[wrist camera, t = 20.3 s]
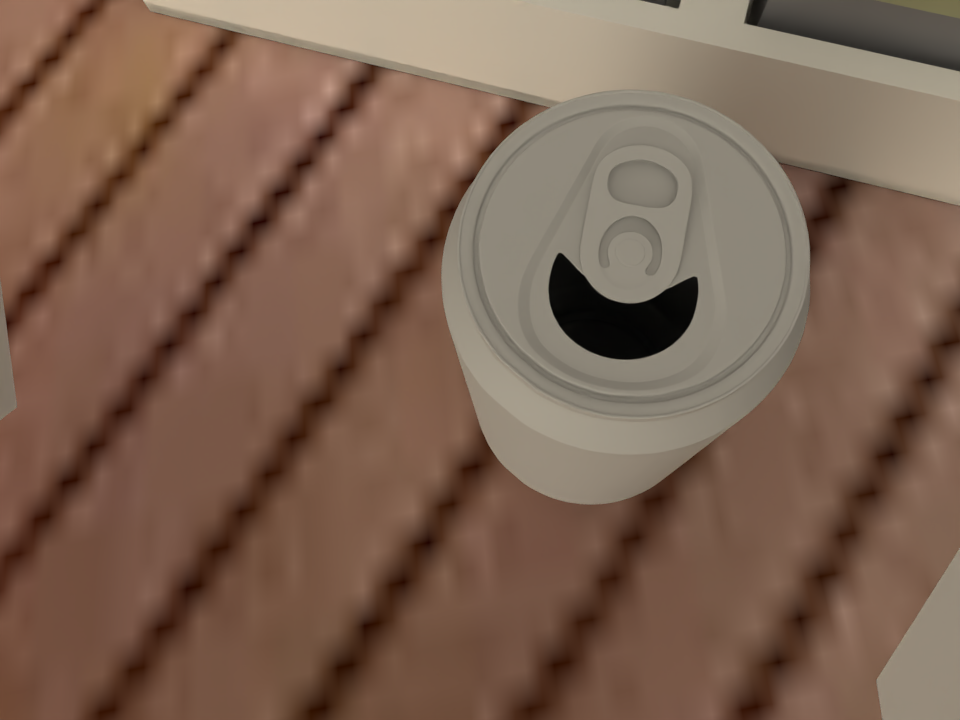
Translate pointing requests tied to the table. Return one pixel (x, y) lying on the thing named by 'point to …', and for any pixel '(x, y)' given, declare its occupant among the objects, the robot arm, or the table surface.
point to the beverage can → (623, 289)
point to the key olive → (872, 26)
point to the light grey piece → (648, 70)
